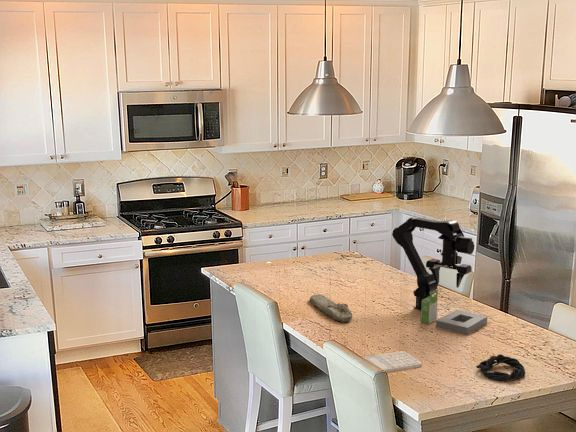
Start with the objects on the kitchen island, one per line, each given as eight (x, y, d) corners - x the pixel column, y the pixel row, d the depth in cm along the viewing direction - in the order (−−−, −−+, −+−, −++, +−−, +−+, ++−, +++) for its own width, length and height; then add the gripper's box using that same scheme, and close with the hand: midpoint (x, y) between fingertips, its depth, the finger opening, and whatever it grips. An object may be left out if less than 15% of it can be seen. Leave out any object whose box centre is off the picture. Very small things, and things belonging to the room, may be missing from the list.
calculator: (423, 367, 263) (423, 362, 263) (373, 375, 256) (373, 370, 256) (403, 354, 275) (404, 349, 275) (355, 362, 268) (356, 357, 268)
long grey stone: (324, 301, 342) (304, 305, 338) (323, 290, 341) (303, 294, 337) (358, 321, 310) (337, 325, 306) (358, 308, 309) (336, 312, 305)
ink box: (428, 318, 315) (429, 287, 312) (437, 320, 312) (438, 289, 310) (420, 322, 309) (421, 291, 307) (429, 324, 307) (430, 293, 304)
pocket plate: (435, 327, 303) (436, 320, 303) (456, 316, 317) (456, 309, 316) (467, 335, 294) (467, 327, 294) (486, 323, 308) (487, 316, 307)
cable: (506, 362, 268) (507, 350, 267) (537, 375, 256) (537, 363, 255) (471, 371, 260) (472, 359, 259) (501, 385, 248) (501, 373, 247)
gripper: (477, 249, 314) (476, 285, 317) (437, 243, 325) (436, 277, 328) (466, 255, 305) (464, 291, 308) (426, 248, 317) (424, 283, 320)
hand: (447, 285), depth 316 cm, fingers open, 9 cm apart
